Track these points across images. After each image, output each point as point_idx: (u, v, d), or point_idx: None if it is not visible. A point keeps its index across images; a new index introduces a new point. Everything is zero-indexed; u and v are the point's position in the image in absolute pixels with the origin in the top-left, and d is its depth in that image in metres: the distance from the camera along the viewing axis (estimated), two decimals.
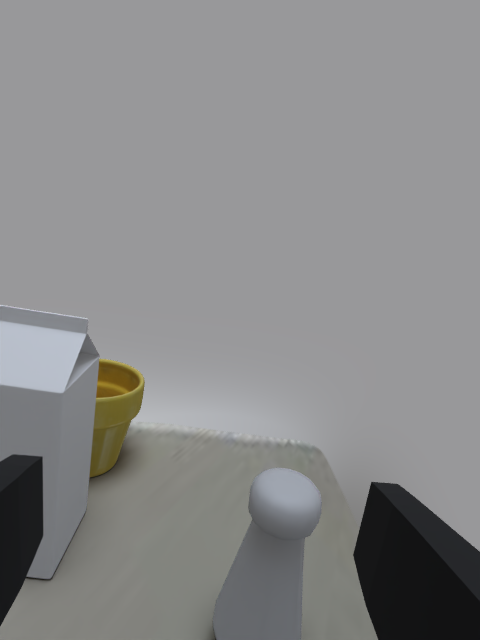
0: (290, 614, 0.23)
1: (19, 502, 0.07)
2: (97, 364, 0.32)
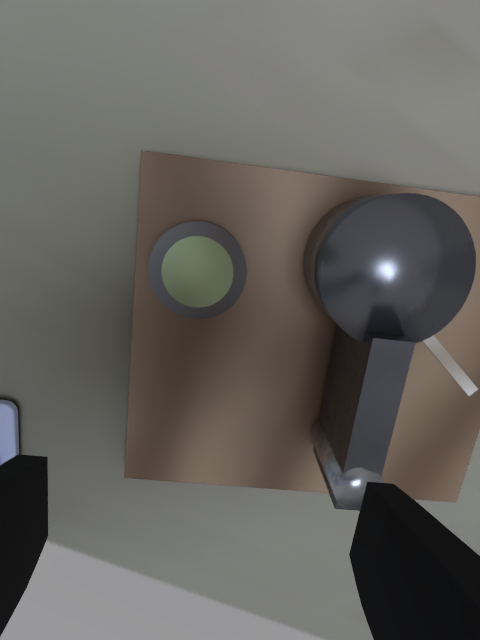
0: None
1: (25, 502, 0.07)
2: None
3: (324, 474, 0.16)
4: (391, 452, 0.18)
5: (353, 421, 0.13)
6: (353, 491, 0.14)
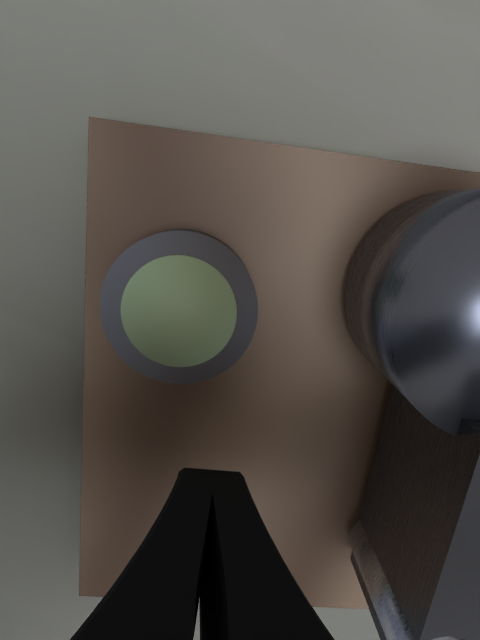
0: None
1: (209, 515, 0.08)
2: None
3: (375, 615, 0.10)
4: None
5: (440, 569, 0.08)
6: None
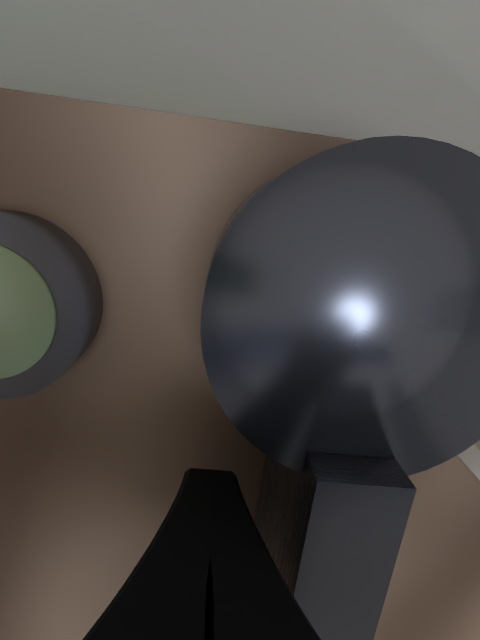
0: None
1: None
2: None
3: None
4: None
5: None
6: None
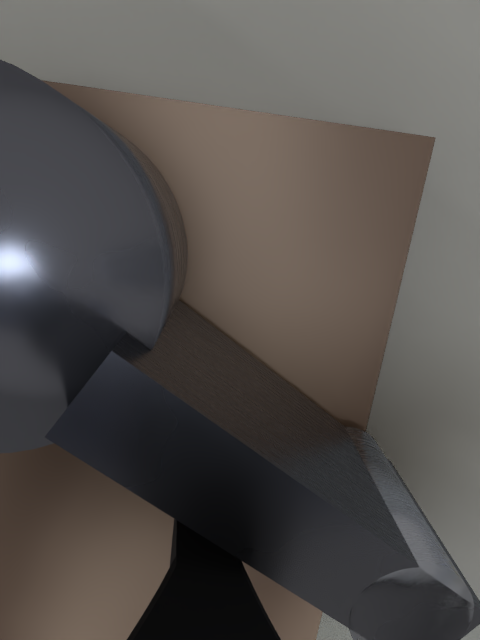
0: None
1: None
2: None
3: None
4: None
5: (240, 555, 0.05)
6: (408, 628, 0.06)
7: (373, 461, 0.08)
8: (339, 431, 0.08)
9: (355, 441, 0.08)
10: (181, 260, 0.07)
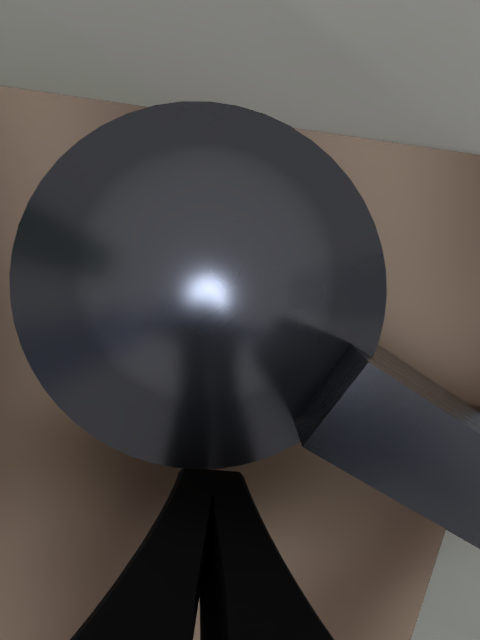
0: None
1: (209, 515, 0.08)
2: None
3: None
4: None
5: (467, 540, 0.06)
6: None
7: None
8: None
9: None
10: None
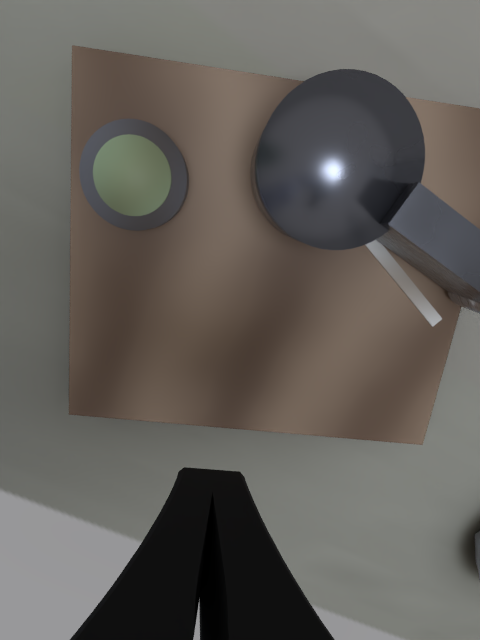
0: None
1: (209, 515, 0.08)
2: None
3: None
4: (352, 388, 0.17)
5: (462, 279, 0.12)
6: None
7: None
8: None
9: None
10: None
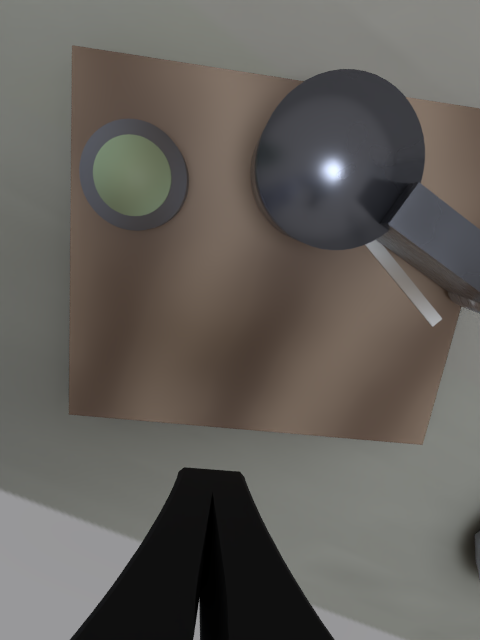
0: None
1: (209, 515, 0.08)
2: None
3: None
4: (352, 388, 0.17)
5: (462, 279, 0.12)
6: None
7: None
8: None
9: None
10: None
